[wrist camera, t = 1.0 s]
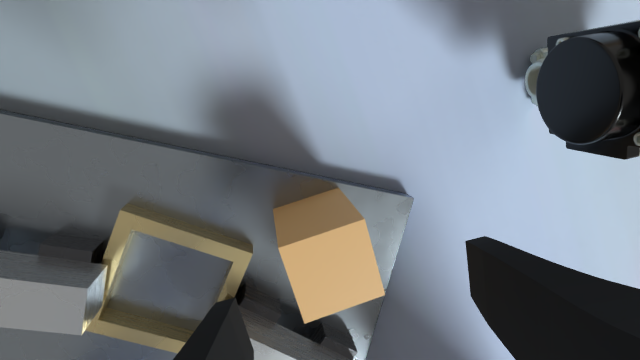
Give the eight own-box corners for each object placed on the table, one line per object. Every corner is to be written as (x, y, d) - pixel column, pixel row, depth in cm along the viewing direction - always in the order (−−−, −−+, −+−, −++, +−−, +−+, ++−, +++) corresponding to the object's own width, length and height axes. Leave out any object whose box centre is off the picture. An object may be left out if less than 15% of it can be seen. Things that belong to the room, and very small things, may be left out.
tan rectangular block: (355, 247, 23) (385, 294, 18) (293, 268, 23) (304, 323, 17) (338, 187, 22) (364, 218, 17) (272, 209, 22) (278, 248, 16)
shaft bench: (348, 393, 27) (368, 459, 22) (-87, 358, 21) (-184, 436, 16) (407, 193, 24) (444, 219, 19) (-78, 93, 18) (-193, 95, 14)
